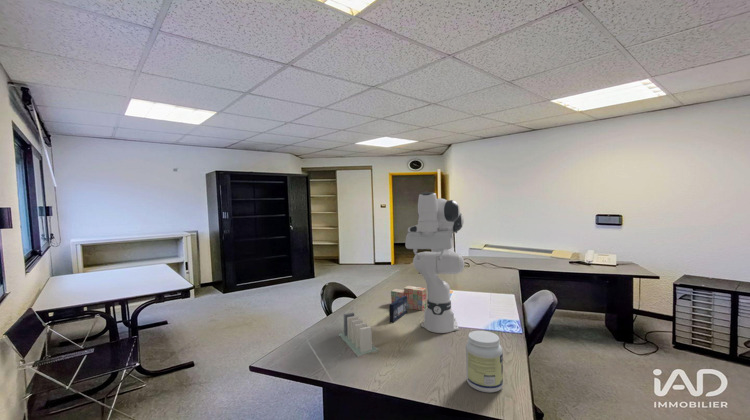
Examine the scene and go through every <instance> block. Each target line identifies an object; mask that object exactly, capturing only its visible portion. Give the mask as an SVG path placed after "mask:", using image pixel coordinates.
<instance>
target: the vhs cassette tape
mask: <svg viewBox="0 0 750 420" xmlns="http://www.w3.org/2000/svg"><path fill="white" fill-rule="evenodd" d="M388 307H389V310H388V311H389V313H388V314H389V318H388V319H389V323H390V324H391V323H393V324H394V323H396V322H397V321H399V320H400V319H401V318H403V316H405V315H406V314H408V308H407V296H402V297H401V298H399V299H397V300H396V301H394V302H393V303H390V304H389V305H388Z"/></svg>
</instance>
